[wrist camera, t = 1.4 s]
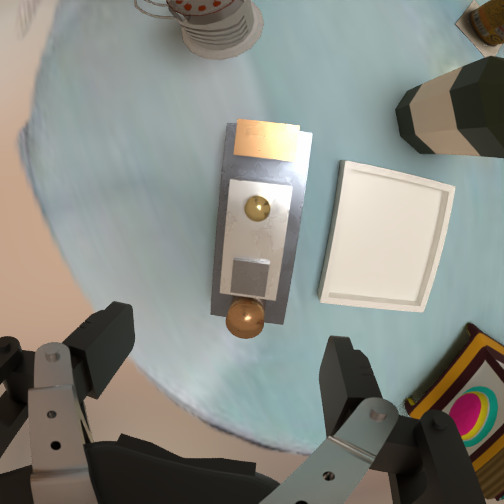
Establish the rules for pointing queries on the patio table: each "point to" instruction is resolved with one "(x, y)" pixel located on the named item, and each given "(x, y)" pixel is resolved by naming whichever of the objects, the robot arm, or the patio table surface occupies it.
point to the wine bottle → (457, 112)
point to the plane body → (294, 171)
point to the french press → (216, 25)
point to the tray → (384, 238)
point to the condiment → (484, 26)
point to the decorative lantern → (474, 406)
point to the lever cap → (254, 237)
